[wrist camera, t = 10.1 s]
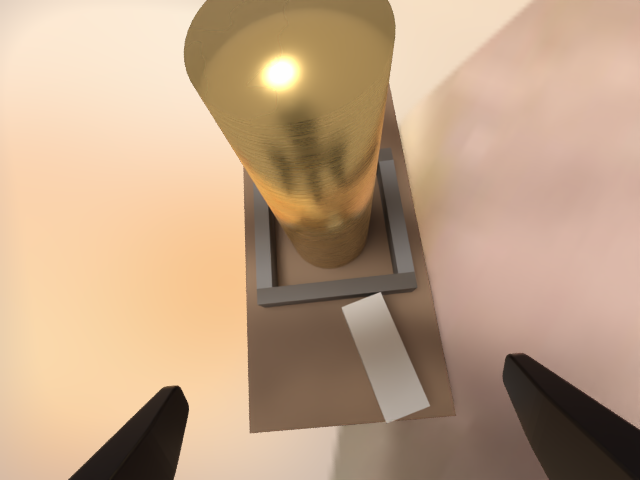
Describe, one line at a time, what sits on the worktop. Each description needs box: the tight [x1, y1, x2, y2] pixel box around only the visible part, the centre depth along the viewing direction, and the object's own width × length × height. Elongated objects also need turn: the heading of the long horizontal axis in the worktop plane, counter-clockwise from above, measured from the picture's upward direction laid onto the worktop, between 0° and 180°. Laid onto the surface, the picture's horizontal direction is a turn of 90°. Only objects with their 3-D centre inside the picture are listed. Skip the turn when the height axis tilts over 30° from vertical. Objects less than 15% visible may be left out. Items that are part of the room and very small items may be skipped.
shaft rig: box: [243, 85, 456, 433], centre depth 18 cm, size 20×10×3 cm, turn 5°
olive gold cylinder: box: [184, 0, 395, 269], centre depth 12 cm, size 4×4×12 cm
